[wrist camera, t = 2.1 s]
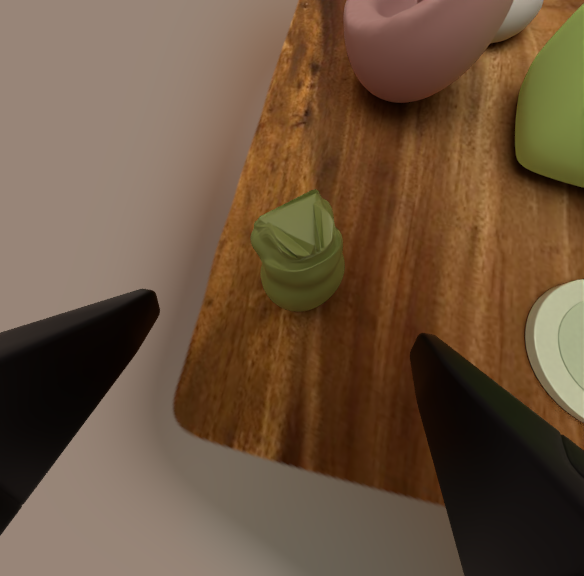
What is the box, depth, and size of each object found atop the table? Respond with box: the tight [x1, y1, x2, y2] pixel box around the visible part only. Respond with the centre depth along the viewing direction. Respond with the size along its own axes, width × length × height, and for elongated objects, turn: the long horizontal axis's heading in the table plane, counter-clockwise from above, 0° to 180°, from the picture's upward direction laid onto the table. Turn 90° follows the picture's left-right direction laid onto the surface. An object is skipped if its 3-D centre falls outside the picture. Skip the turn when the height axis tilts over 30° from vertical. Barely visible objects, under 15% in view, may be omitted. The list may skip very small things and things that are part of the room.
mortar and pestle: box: [344, 0, 514, 103], centre depth 19 cm, size 12×12×11 cm
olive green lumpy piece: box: [251, 189, 345, 311], centre depth 15 cm, size 6×5×10 cm
